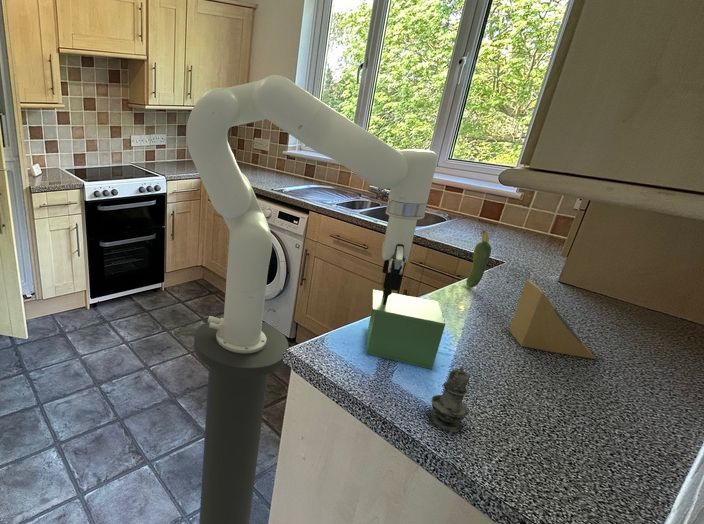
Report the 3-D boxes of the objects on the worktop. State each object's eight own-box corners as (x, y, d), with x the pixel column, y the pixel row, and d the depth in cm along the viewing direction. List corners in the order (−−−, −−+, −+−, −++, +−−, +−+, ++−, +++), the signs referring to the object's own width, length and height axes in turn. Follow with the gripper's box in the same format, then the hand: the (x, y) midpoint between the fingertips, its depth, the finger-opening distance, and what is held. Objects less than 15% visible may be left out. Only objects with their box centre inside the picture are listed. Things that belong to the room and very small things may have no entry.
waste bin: (366, 353, 95) (375, 313, 91) (367, 330, 105) (375, 293, 101) (432, 369, 90) (444, 327, 86) (426, 343, 100) (437, 304, 96)
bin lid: (371, 312, 92) (376, 292, 90) (372, 292, 102) (376, 273, 100) (444, 326, 86) (450, 306, 85) (437, 304, 96) (442, 285, 95)
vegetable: (480, 289, 133) (498, 231, 125) (477, 293, 130) (496, 233, 123) (464, 285, 135) (481, 227, 128) (461, 289, 132) (479, 230, 125)
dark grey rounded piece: (469, 435, 72) (489, 379, 68) (433, 430, 73) (451, 374, 69) (455, 412, 78) (472, 359, 73) (422, 407, 78) (437, 355, 74)
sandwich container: (597, 360, 96) (623, 303, 91) (521, 346, 101) (542, 292, 95) (578, 341, 104) (600, 288, 99) (508, 329, 108) (526, 278, 103)
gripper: (385, 198, 96) (372, 265, 102) (387, 215, 81) (372, 292, 87) (421, 202, 94) (405, 270, 100) (429, 220, 79) (410, 299, 85)
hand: (390, 281), depth 94 cm, fingers open, 9 cm apart
